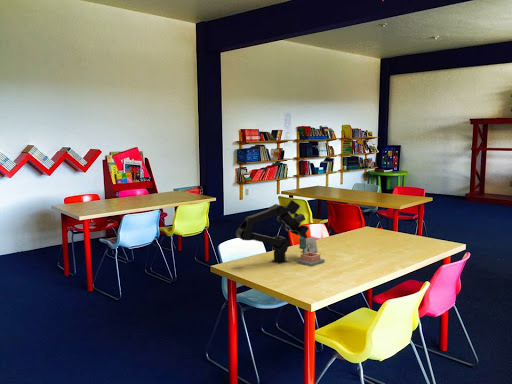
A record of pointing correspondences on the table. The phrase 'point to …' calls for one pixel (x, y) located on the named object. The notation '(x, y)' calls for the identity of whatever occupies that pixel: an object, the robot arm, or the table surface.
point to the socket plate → (310, 259)
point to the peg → (302, 242)
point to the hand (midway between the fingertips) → (304, 236)
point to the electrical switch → (310, 245)
